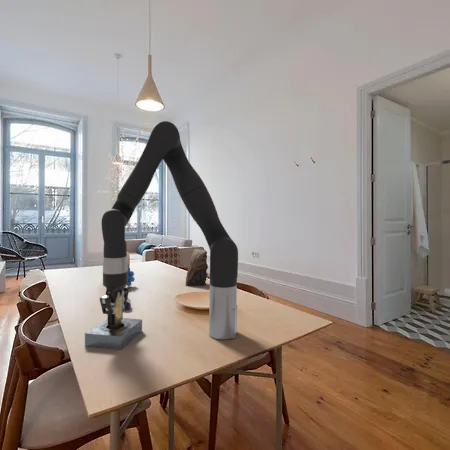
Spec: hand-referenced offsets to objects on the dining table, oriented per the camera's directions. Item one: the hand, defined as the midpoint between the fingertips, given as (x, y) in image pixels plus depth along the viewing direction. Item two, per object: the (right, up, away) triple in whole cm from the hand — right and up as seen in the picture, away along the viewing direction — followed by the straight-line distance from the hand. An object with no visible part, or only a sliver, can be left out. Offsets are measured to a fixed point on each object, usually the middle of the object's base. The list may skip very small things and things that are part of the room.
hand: (115, 322), depth 93 cm
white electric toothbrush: (-11, -4, +38) cm, 40 cm away
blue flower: (-19, -3, +62) cm, 65 cm away
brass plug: (0, -3, 0) cm, 3 cm away
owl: (+18, -3, +73) cm, 75 cm away
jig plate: (0, -5, 0) cm, 5 cm away
